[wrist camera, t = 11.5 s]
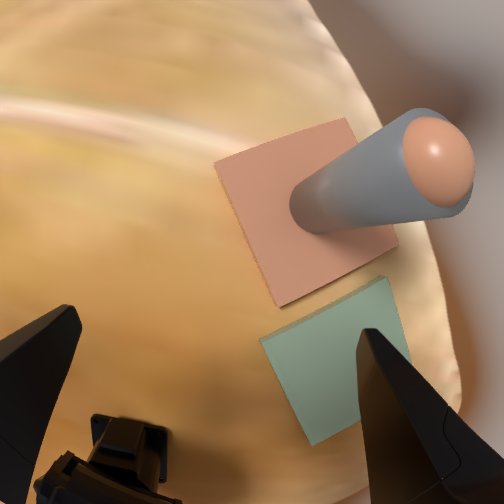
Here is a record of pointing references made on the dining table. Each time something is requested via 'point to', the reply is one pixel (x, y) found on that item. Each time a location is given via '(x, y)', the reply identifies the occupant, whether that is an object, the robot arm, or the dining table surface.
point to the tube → (390, 178)
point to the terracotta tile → (281, 221)
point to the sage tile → (331, 357)
